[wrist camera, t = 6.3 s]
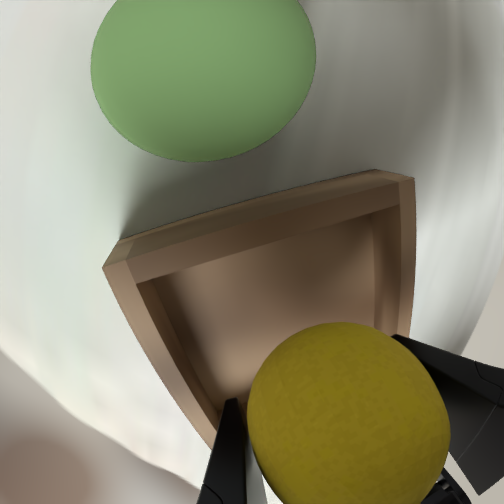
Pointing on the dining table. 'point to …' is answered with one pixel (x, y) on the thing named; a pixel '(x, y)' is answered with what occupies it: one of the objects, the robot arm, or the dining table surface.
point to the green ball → (202, 73)
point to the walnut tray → (265, 282)
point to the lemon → (347, 419)
